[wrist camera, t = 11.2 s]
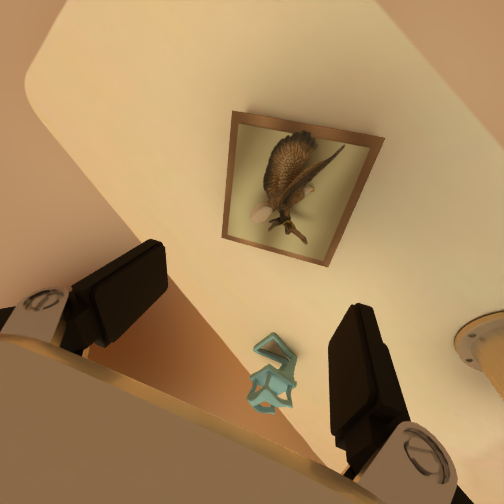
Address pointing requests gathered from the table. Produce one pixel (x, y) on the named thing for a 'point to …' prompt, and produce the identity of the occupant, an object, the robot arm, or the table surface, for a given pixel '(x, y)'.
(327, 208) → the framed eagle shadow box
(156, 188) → the table surface
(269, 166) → the eagle figurine
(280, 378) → the chair
